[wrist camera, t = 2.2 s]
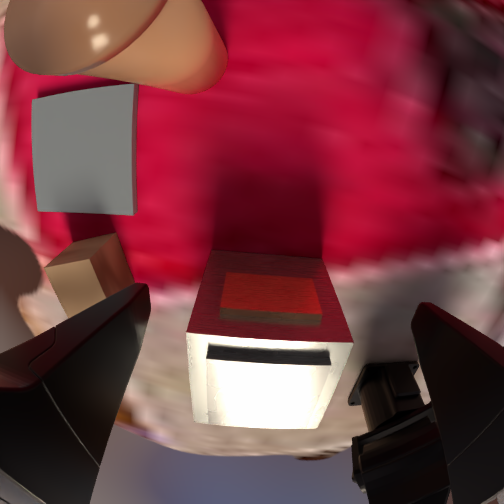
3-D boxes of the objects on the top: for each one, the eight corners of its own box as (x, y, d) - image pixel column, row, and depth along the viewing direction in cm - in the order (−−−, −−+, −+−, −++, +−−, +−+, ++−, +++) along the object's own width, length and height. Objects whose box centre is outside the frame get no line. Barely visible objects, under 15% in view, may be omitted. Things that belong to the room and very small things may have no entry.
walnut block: (135, 282, 23) (114, 316, 19) (92, 288, 24) (69, 319, 20) (116, 231, 21) (89, 258, 17) (73, 241, 22) (43, 267, 18)
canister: (226, 96, 17) (154, 57, 5) (153, 96, 17) (-6, 91, 5) (232, 28, 15) (187, -103, 3) (159, 30, 15) (26, -52, 3)
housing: (303, 341, 25) (317, 435, 17) (210, 334, 25) (192, 429, 16) (323, 253, 22) (359, 344, 13) (211, 244, 21) (183, 334, 13)
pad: (137, 211, 20) (133, 215, 20) (43, 208, 20) (38, 211, 20) (138, 84, 17) (134, 83, 16) (38, 99, 16) (32, 99, 16)
